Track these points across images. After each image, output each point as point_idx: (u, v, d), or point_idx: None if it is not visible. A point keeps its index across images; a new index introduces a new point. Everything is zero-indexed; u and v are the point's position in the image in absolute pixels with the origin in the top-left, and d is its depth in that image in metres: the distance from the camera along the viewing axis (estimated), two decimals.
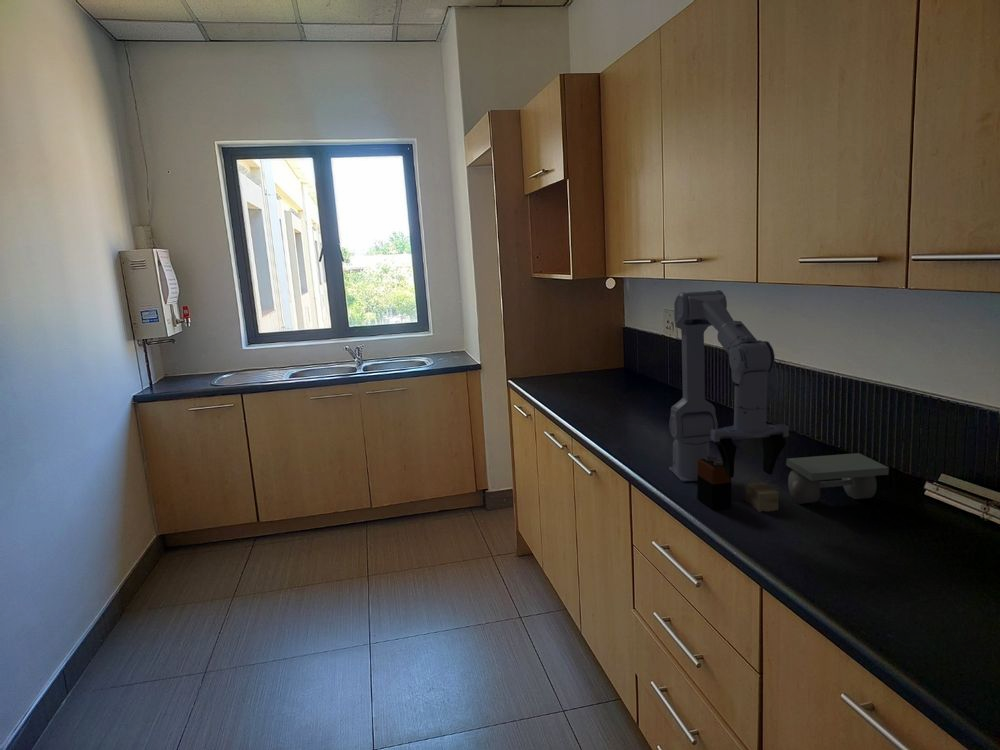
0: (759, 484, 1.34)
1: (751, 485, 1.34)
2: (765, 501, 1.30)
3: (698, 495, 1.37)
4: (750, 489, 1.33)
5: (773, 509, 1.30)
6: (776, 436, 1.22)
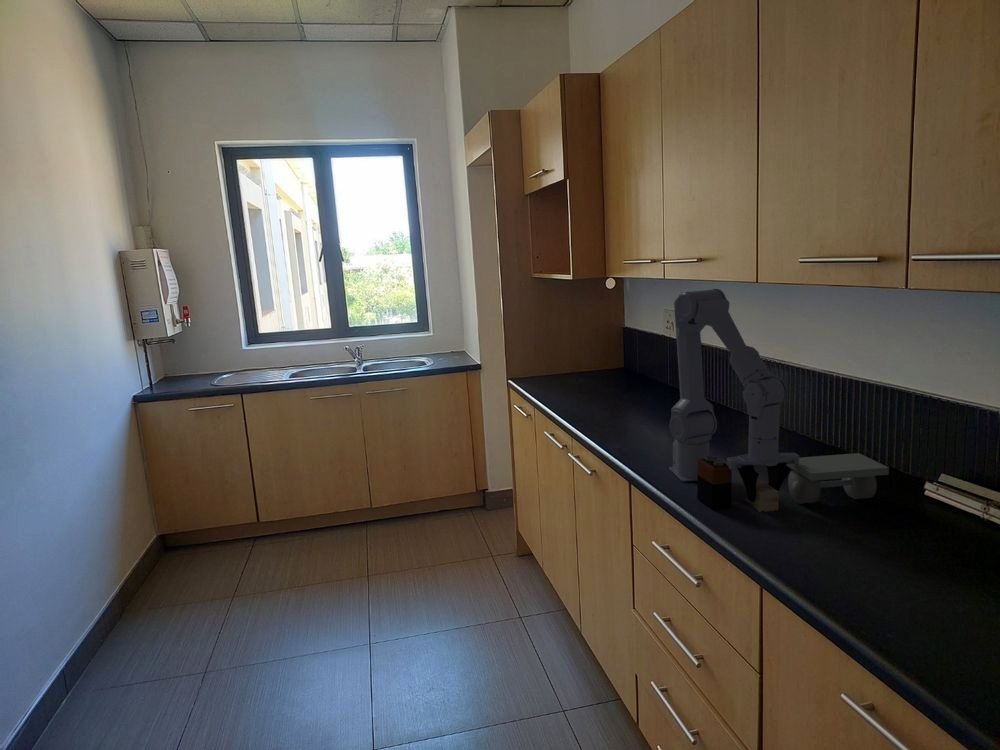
0: (759, 483, 1.34)
1: None
2: (765, 501, 1.30)
3: (698, 495, 1.37)
4: None
5: (773, 508, 1.30)
6: None
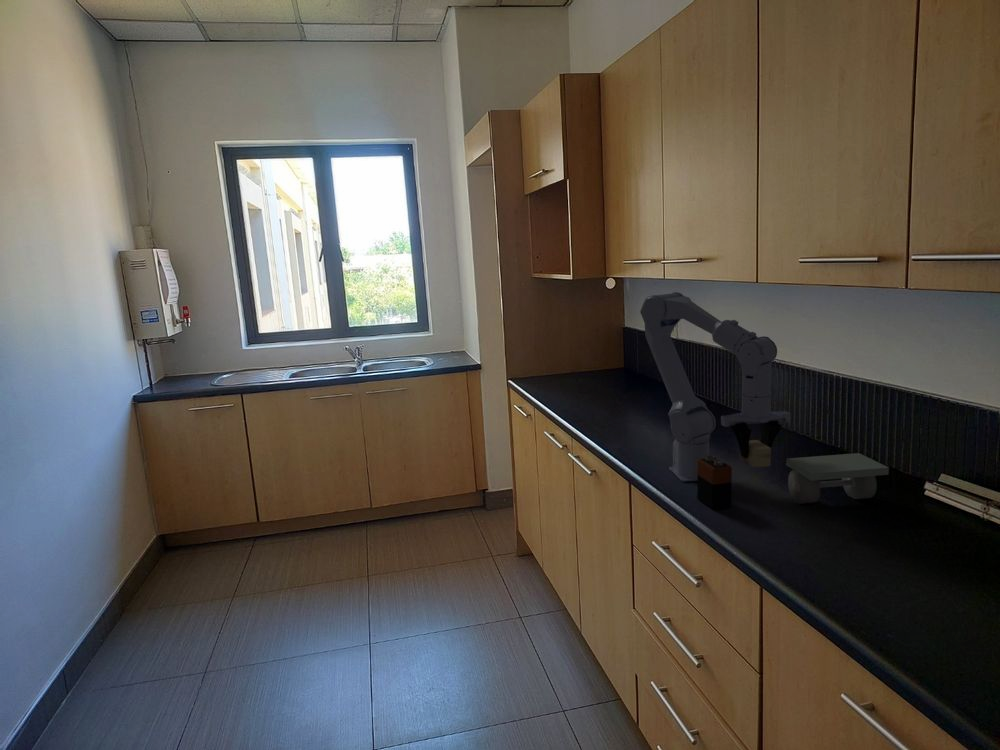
0: (752, 441, 1.40)
1: None
2: (758, 457, 1.35)
3: (698, 495, 1.37)
4: None
5: (765, 464, 1.36)
6: None
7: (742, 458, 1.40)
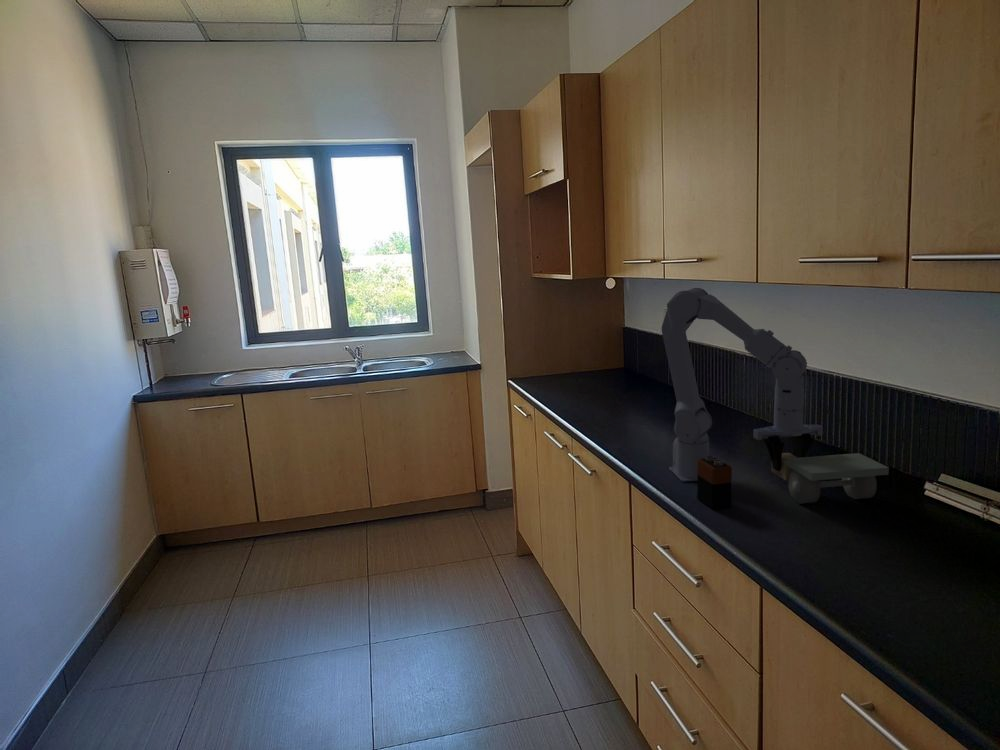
0: (784, 454, 1.41)
1: None
2: (791, 470, 1.37)
3: (698, 495, 1.37)
4: None
5: None
6: None
7: (774, 471, 1.41)
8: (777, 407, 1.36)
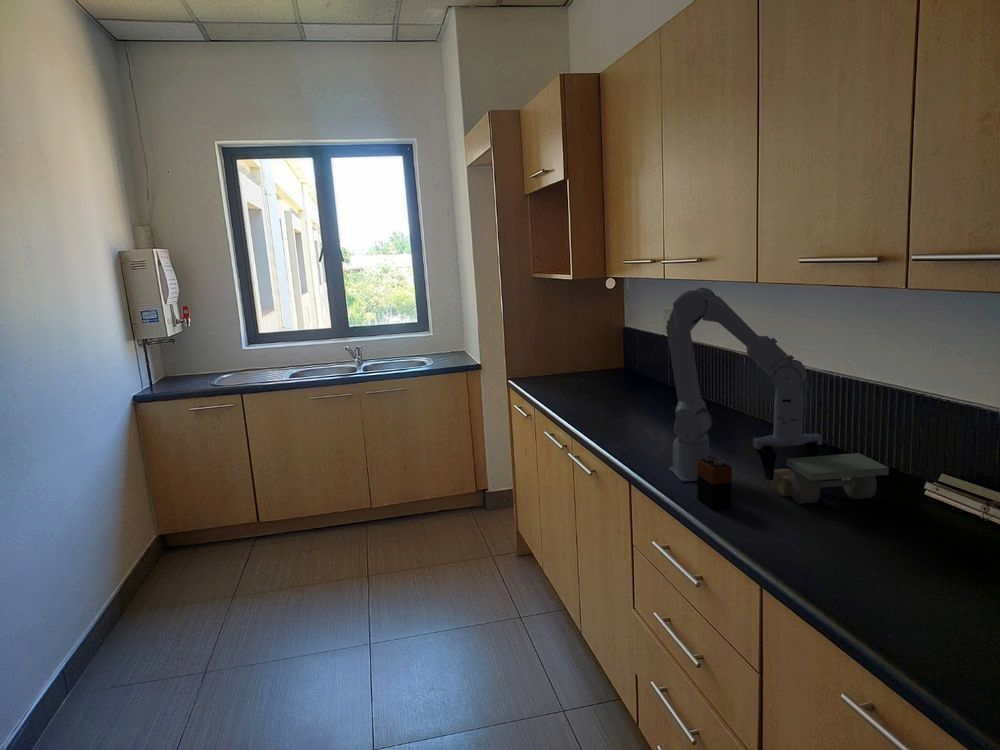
0: (783, 470, 1.42)
1: (776, 471, 1.41)
2: None
3: (698, 495, 1.37)
4: (775, 475, 1.41)
5: None
6: (811, 444, 1.38)
7: (773, 486, 1.42)
8: (777, 416, 1.37)
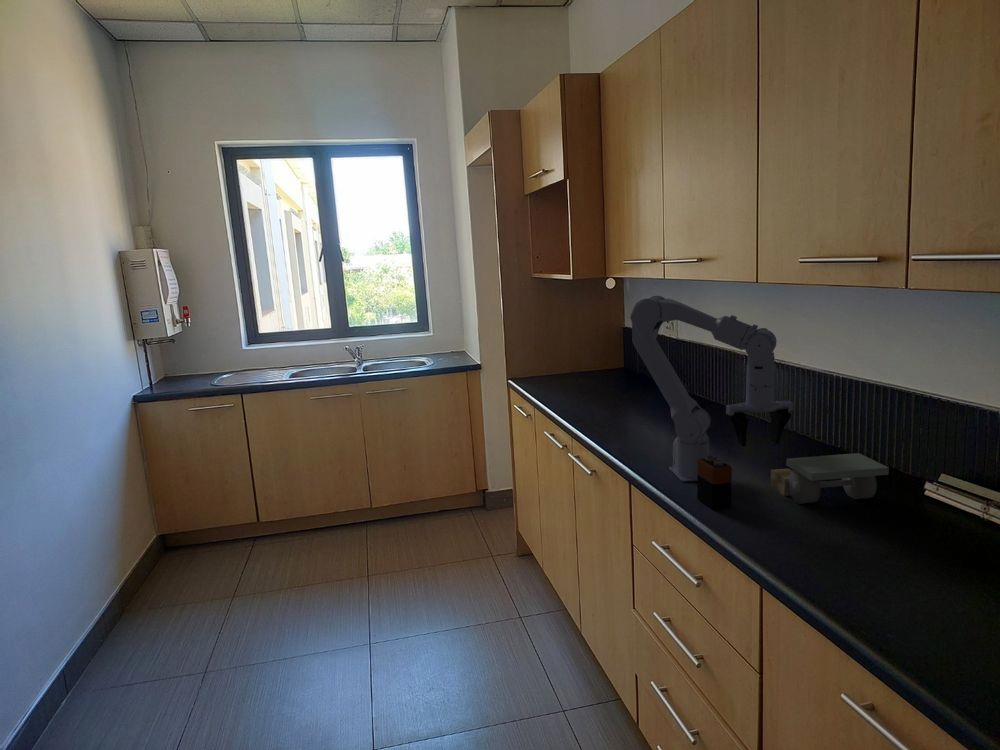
0: (783, 470, 1.42)
1: (776, 471, 1.41)
2: None
3: (698, 495, 1.37)
4: (775, 475, 1.41)
5: None
6: (782, 410, 1.42)
7: (773, 486, 1.42)
8: (749, 383, 1.40)
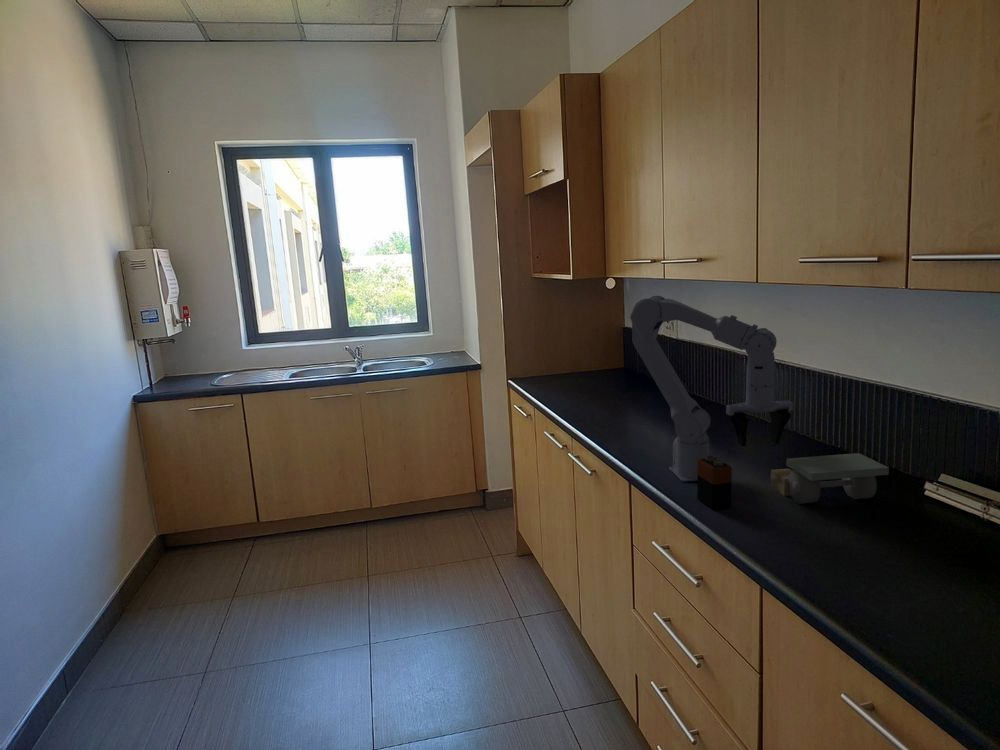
0: (783, 470, 1.42)
1: (776, 471, 1.41)
2: None
3: (698, 495, 1.37)
4: (775, 475, 1.41)
5: None
6: (782, 410, 1.42)
7: (773, 486, 1.42)
8: (749, 383, 1.40)
